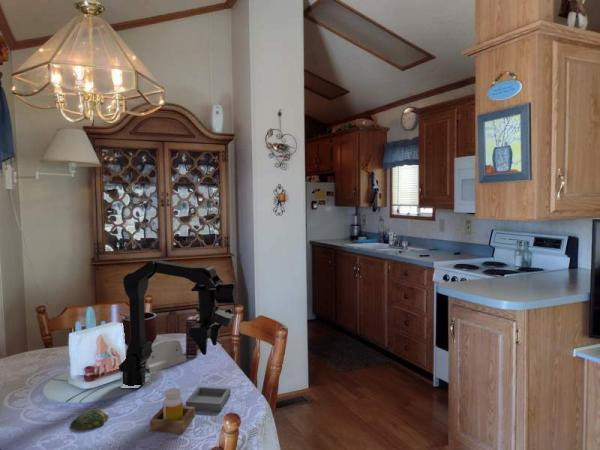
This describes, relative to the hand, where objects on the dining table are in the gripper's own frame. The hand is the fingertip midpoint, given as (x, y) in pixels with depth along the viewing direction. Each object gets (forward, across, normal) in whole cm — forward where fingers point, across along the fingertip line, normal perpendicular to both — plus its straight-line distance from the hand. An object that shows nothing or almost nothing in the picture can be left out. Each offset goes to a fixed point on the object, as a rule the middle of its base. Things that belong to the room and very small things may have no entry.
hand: (209, 349), depth 142 cm
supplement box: (+14, +32, +21) cm, 41 cm away
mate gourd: (+12, +24, +41) cm, 49 cm away
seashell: (+14, -25, +27) cm, 39 cm away
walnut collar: (+14, -22, +3) cm, 26 cm away
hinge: (+13, +20, +28) cm, 37 cm away
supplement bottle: (+14, -22, +3) cm, 26 cm away
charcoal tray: (+14, -7, -2) cm, 16 cm away
